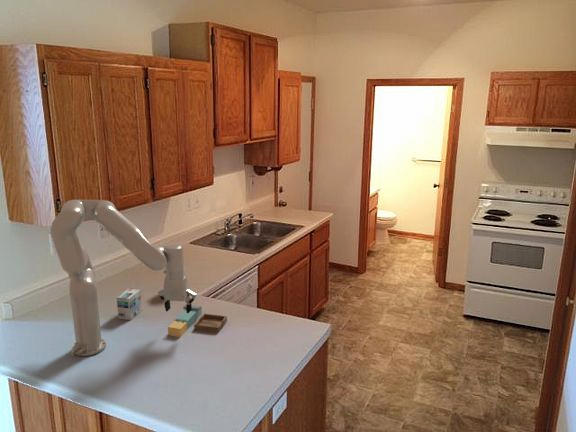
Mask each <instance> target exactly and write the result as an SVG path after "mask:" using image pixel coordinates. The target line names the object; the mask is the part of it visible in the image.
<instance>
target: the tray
mask: <svg viewBox="0 0 576 432" xmlns="http://www.w3.org/2000/svg"><path fill="white" fill-rule="evenodd" d="M227 322H228V316H227V315H221V314H220V315H218V314H209V313H202V314H201V315H200V316H199V318H198V319H197V320H196V321H195V322H194V323H193V330H194V331H200V332H208V333H216V334H219V333H220V331H221V330H222V329H223V327H224V326H225V324H227Z"/></svg>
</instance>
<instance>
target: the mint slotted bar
mask: <svg viewBox="0 0 576 432" xmlns="http://www.w3.org/2000/svg"><path fill="white" fill-rule="evenodd" d="M186 305H187V304H184V306H183V309H182V311H181V312H180V314H178V316H177V317H176V318H175V319H174V321H180V322H187V331H188V330H189V329H190V328H191V326H193V325H194V324H195V323H196V322H197V321H198V320H199V318H200V317H201V316H202V315H203V309H202V308H203V307H202V305H198V304H197V305H196V304H191V305H192V310H191V311H190V312H189V313H187V311H186Z"/></svg>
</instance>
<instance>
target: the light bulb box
mask: <svg viewBox="0 0 576 432" xmlns="http://www.w3.org/2000/svg"><path fill="white" fill-rule="evenodd" d="M142 304H143V303H142V292H141V289H135V288H133V289H132V288H127V289H126V290H124V291H123V292H122V293H120V295H118V296H117V297H116V305H117V317H118V319H120V320H128V321H132V320H133V319H134V318H136V317H137V315H139V314H140V313H141V312H142V311H143V305H142Z"/></svg>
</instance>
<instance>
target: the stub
mask: <svg viewBox="0 0 576 432" xmlns="http://www.w3.org/2000/svg"><path fill="white" fill-rule="evenodd" d="M187 331H188V330H187V322H180V321H175V320H174V321H173V322H172V323H170V325H168V326H167V335H168V336H172V337H178V338H179V337H180V338H181V337H183V335H184V334H186V332H187Z"/></svg>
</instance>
